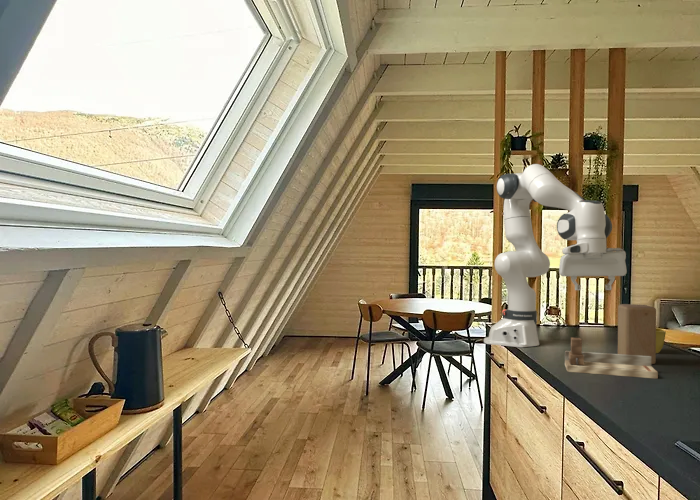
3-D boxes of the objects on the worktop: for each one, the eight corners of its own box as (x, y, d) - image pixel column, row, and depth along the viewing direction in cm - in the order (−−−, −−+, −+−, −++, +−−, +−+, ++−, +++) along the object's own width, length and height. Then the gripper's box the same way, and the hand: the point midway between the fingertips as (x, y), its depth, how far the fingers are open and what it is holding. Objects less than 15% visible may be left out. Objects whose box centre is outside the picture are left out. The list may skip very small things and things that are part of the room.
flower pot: (660, 350, 206) (660, 328, 206) (665, 355, 198) (666, 331, 197) (635, 349, 209) (635, 326, 209) (639, 353, 200) (640, 330, 200)
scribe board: (567, 371, 169) (567, 356, 169) (564, 365, 178) (564, 350, 178) (657, 378, 161) (657, 362, 161) (650, 371, 170) (650, 356, 170)
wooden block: (656, 365, 180) (657, 307, 180) (625, 363, 182) (626, 306, 182) (646, 359, 190) (646, 304, 190) (616, 357, 192) (617, 303, 192)
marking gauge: (570, 364, 169) (570, 340, 169) (568, 360, 176) (568, 336, 176) (583, 365, 168) (584, 341, 168) (581, 361, 175) (581, 337, 174)
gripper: (622, 248, 172) (623, 289, 172) (557, 249, 176) (558, 290, 175) (628, 247, 166) (630, 290, 165) (561, 248, 170) (562, 290, 169)
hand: (593, 290), depth 170 cm, fingers open, 8 cm apart
